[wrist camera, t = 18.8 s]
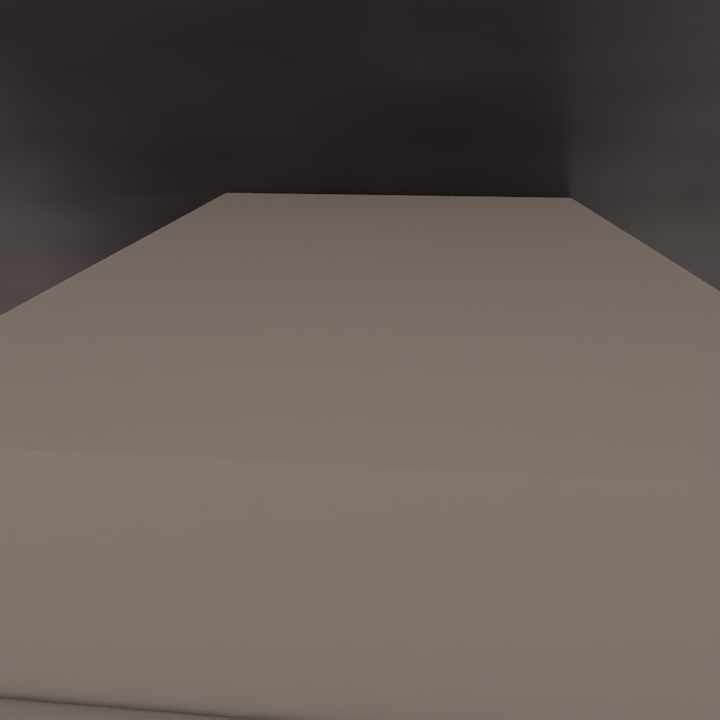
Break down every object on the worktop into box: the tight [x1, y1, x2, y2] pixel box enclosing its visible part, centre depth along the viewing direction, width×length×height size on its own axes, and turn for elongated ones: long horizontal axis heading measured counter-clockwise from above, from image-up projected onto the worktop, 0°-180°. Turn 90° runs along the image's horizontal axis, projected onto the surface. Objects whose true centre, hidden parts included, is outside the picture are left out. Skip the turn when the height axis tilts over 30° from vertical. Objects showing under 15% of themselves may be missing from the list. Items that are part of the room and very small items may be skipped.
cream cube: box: [0, 193, 720, 720], centre depth 8 cm, size 7×7×9 cm
